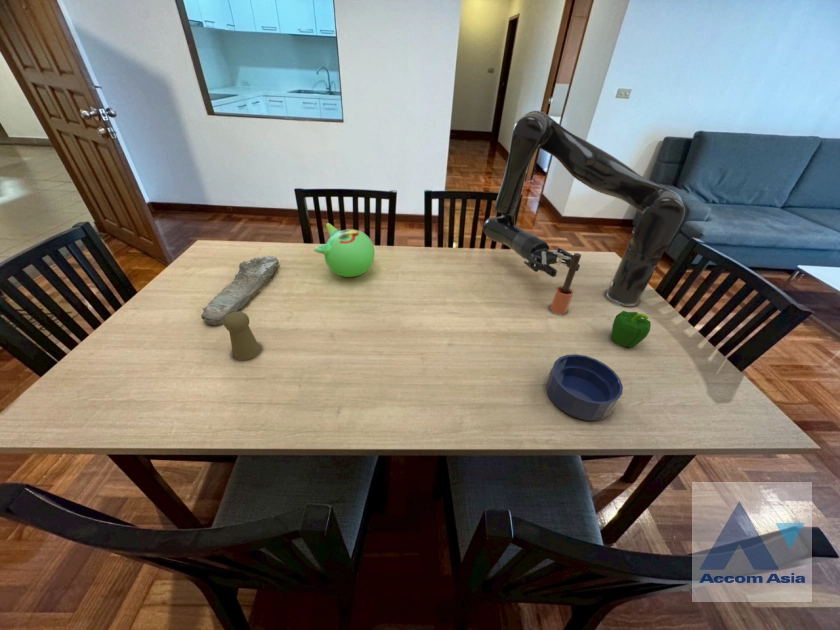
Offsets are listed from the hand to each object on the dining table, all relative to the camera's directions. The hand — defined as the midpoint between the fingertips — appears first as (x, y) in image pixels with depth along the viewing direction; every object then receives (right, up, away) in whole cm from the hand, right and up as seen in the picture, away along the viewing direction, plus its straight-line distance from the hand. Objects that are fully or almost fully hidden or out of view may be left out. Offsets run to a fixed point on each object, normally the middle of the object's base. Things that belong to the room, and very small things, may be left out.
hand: (566, 271), depth 99 cm
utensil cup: (0, -11, +6) cm, 13 cm away
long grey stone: (-94, -5, +7) cm, 94 cm away
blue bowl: (-6, -30, -20) cm, 37 cm away
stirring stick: (0, -10, +6) cm, 12 cm away
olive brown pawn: (-83, -21, -14) cm, 87 cm away
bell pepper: (+13, -20, -4) cm, 24 cm away
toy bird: (-65, +2, +19) cm, 68 cm away
